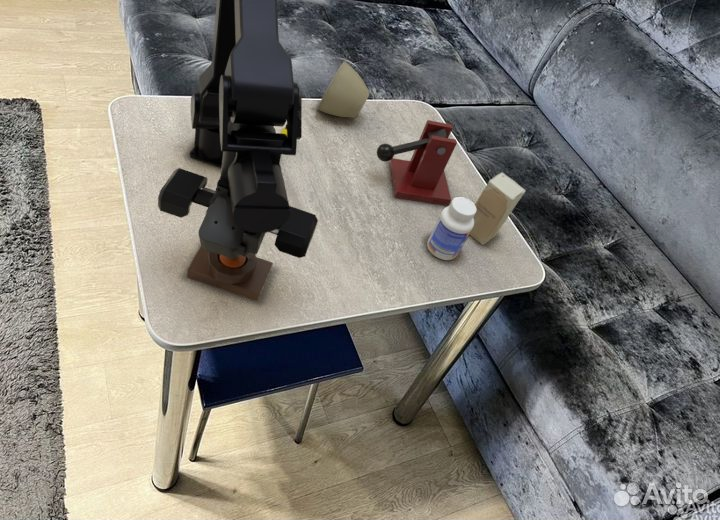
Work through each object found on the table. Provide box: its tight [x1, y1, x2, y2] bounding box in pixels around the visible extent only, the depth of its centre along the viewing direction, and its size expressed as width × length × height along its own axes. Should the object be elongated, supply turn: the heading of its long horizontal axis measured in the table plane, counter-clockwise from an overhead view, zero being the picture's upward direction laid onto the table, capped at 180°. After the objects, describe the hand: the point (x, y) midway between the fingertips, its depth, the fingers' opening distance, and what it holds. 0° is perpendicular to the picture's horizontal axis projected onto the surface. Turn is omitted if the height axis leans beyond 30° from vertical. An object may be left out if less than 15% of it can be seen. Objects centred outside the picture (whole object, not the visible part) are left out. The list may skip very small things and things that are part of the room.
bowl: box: [316, 60, 370, 118], centre depth 110 cm, size 10×10×7 cm
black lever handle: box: [376, 129, 447, 163], centre depth 98 cm, size 12×3×3 cm, turn 94°
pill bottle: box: [426, 196, 476, 261], centre depth 92 cm, size 5×5×10 cm
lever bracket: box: [388, 119, 458, 206], centre depth 101 cm, size 10×9×12 cm
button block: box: [186, 246, 274, 302], centre depth 80 cm, size 10×6×4 cm, turn 78°
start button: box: [219, 255, 246, 269], centre depth 79 cm, size 3×3×2 cm
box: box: [469, 171, 526, 246], centre depth 97 cm, size 5×4×11 cm
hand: (232, 256), depth 78 cm, fingers closed, pressing on start button
